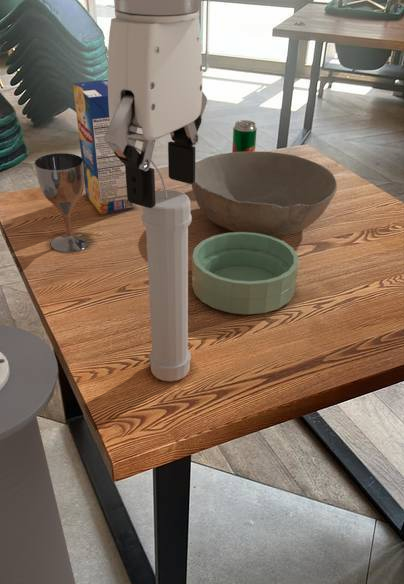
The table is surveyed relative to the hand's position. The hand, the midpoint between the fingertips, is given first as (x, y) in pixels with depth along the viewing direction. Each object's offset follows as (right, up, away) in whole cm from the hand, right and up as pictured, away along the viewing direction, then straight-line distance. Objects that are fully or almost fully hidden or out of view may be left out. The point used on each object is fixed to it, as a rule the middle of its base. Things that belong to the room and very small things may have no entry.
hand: (162, 190), depth 61 cm
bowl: (+15, +9, +52) cm, 55 cm away
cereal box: (-15, +15, +58) cm, 62 cm away
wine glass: (-20, +3, +44) cm, 48 cm away
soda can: (+13, +23, +70) cm, 75 cm away
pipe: (0, -20, +16) cm, 25 cm away
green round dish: (+11, -7, +32) cm, 35 cm away
